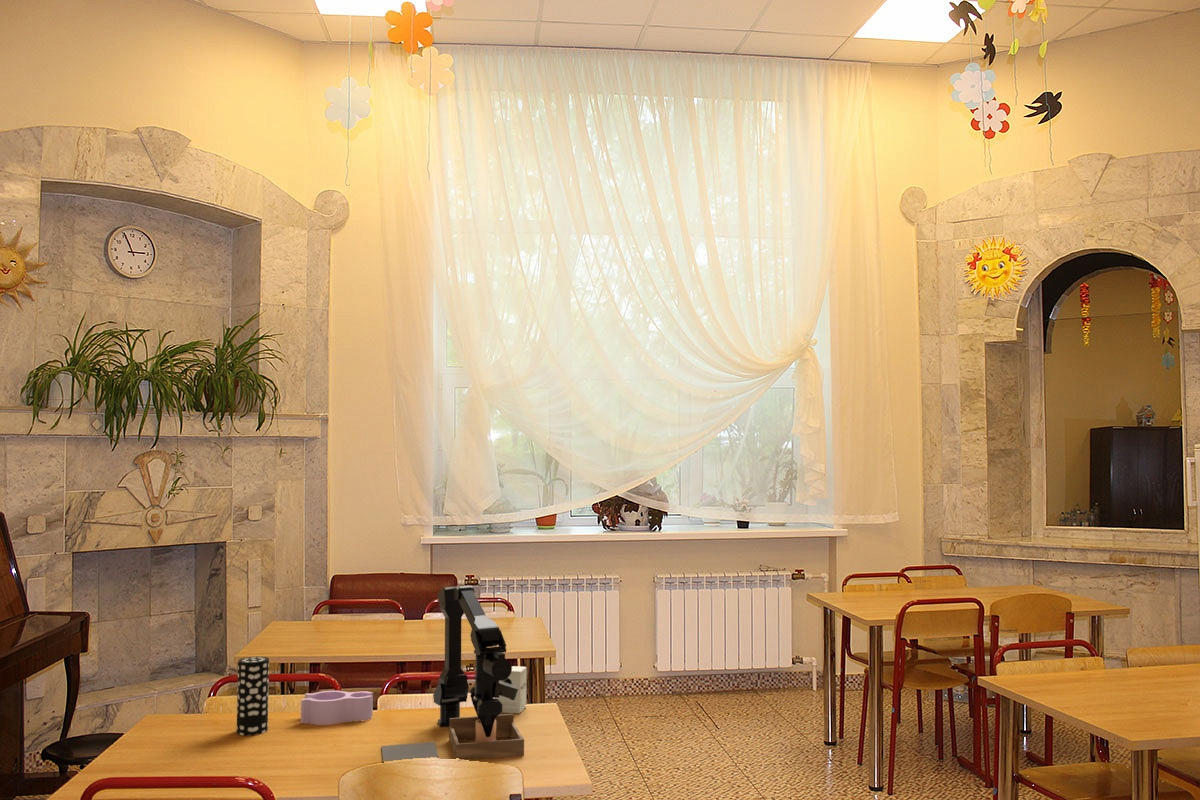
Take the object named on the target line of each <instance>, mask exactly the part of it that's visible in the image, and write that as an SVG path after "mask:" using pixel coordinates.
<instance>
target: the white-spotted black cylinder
mask: <svg viewBox="0 0 1200 800" xmlns="http://www.w3.org/2000/svg"><path fill="white" fill-rule="evenodd" d="M269 670H270V657H267V656H250V657H243V658H240V659H238V661H237V685H236V686H237V688H236V689H237V692H236V693H237V695H236V697H237V698H236V732H235V733H236V734H237V735H239V736H247V737H248V736H256V735H262V734H264V733H266V732H268V728H269V725H268V724H269V688H270V687H269V685H270V684H269V683H270V681H269V679H270V677H269V676H270V671H269Z"/></svg>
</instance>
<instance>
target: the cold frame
mask: <svg viewBox="0 0 1200 800" xmlns="http://www.w3.org/2000/svg"><path fill="white" fill-rule="evenodd" d="M476 720H478V716H477V715H475V716H463V717H461V716H460V718H450V724H449V726H448V727H449V731H448V732H449V738H448V741H449V740H450V741H449V744H450V743H451V744H450V747H451V746H452V747H451V750H452V749H453V750H452V751H453V755H454V754H455V755H454V758H455V759H456V758H459V759H470V760H478V759H479V758H482V759H490V758H503V757H505V758H506V757H515V756H516V755H518V756H525V739H524V737H523V735H522V734H521V732H520V730H519V729H518V727H517V725H516V724H515V722H514V713H504V714H502V713H501V714H500V715H498V716H497V717H496V718H495V720H496V737H499V738H509V737H508V736H511V737H510V738H511V739H501V740H500V739H499V740H496V741H486V742H464V743H463V742H461V743H460V741H458V740H461V741H468V740H467V739H474V740H476ZM455 756H456V757H455ZM516 757H517V756H516ZM479 760H480V759H479Z"/></svg>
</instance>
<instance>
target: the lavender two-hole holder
mask: <svg viewBox="0 0 1200 800" xmlns="http://www.w3.org/2000/svg"><path fill="white" fill-rule="evenodd" d="M373 703H374V692H371V691H366V690H365V691H364V690H363V691H344V690H322V691H317V692H314V693H309V692H306V693H304V698H302V699H301V700H300V724H301V723H304V724H309V725H314V724H315V726H316V725H317V726H318V725H319V726H329V725H336V724H342V723H346V722H348V723H349V722H350V723H351V722H352V721H361V722H363V721H362V720H367V721H369V720H368V719H370V720H372V717H373V706H374V705H373ZM352 723H353V722H352Z"/></svg>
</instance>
